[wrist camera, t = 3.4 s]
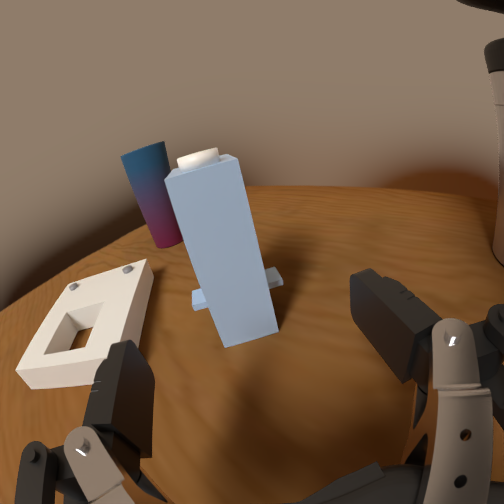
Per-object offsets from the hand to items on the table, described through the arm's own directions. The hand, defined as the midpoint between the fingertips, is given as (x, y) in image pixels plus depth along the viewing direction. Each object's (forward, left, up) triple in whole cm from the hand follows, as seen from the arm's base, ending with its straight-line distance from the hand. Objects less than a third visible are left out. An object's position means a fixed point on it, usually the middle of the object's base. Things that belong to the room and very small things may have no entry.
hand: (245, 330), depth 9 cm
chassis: (+3, -21, -7) cm, 22 cm away
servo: (-6, -8, -7) cm, 12 cm away
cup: (-15, -31, -7) cm, 35 cm away
